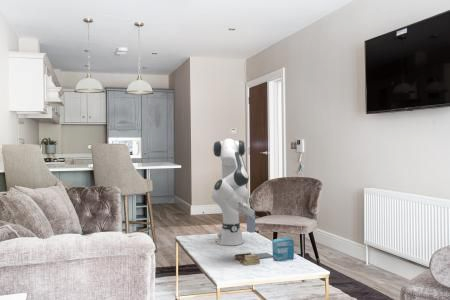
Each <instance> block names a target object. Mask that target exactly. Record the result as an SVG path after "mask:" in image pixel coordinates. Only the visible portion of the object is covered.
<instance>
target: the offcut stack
mask: <svg viewBox="0 0 450 300" xmlns="http://www.w3.org/2000/svg"><path fill="white" fill-rule="evenodd" d="M260 262H261V261H260V259H259V258H258V257H256V256H255V255H244V261H242V263H241V264H242V265H244V266H252V265H260Z"/></svg>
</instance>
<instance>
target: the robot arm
mask: <svg viewBox="0 0 450 300" xmlns="http://www.w3.org/2000/svg"><path fill="white" fill-rule="evenodd" d="M246 150H247V146H246V144H245V141H244V140H234V139H233V138H226V139H224V140H221V141H218V140H217V141H215V142H214V143H213V146H212V152H213V154H214V156H215V157H217V158H220V160H221V178H222V179H219V180H217V181H216V182H215V184H214V187H213V190H212V192H211V199H212V201H213V202H214V203H215V204H217V206H219V207H220V209H221V213H222V224H221V229H220V230H219V232H218V233H217V238H216V239H215V241H216V244H218V245H219V246H239V245H242V244H243V243H245V240H244V239H243V231H242V230H241V229H240V228H241V227H240V226H241V224H240V214H243V215H245V216H246V217H247V215H248V216H250V217H251V218H252V219H255V220H256V215H255V216H254V215H253V214H254V211H253V210H254V209H253V208H251V207H250V206H249V205H248V204H247V203H245V202H247V201H248V200H249V198H250V191H249V189H248V188H247V187H245V186H246V184H248V183H249V179H250V177H249V174H248V171H247V170H246V169H247V168H246V165H245V162H244V158H243V156H244V155H245V153H246ZM252 209H253V210H252Z"/></svg>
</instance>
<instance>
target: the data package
mask: <svg viewBox="0 0 450 300" xmlns="http://www.w3.org/2000/svg"><path fill="white" fill-rule="evenodd" d="M294 242H295V240H294V239H293V238H290V237H284V238H275V239H272V244H271V246H272V255H273V257H272V259H273V260H274V261H277V262H282V261H291V260H293V259H294V258H295V245H294V244H295V243H294Z"/></svg>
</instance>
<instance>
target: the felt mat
mask: <svg viewBox="0 0 450 300" xmlns="http://www.w3.org/2000/svg"><path fill="white" fill-rule="evenodd" d="M251 255H255V256H257V257H258V258H259V260H262V259H269V258H272V259H273V254H270V253H268V252H260V253H251Z"/></svg>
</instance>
